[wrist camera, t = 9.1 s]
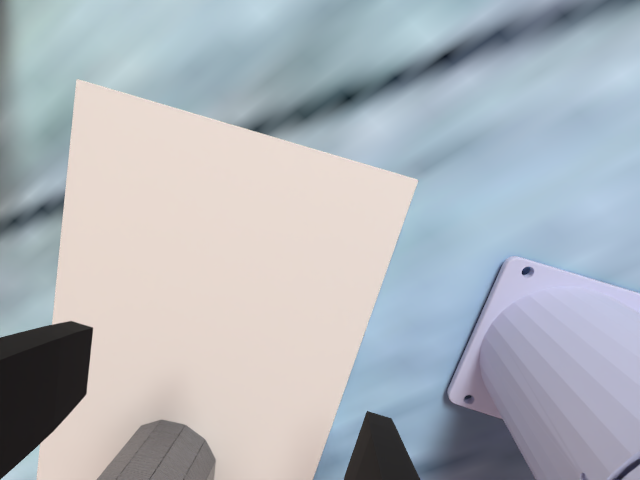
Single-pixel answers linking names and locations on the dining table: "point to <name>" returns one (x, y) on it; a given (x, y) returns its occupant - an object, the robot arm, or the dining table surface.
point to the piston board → (213, 284)
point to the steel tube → (163, 455)
